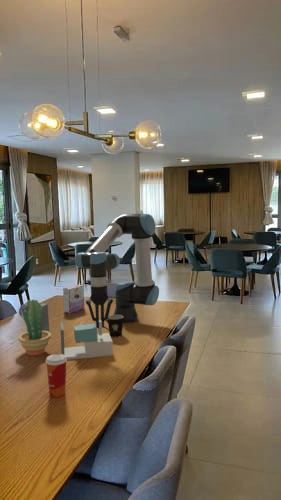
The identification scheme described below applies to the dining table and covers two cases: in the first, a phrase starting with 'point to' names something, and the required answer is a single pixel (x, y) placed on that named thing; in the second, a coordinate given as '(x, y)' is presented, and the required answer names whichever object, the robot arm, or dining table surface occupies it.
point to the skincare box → (45, 318)
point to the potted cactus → (33, 329)
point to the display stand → (88, 347)
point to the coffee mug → (115, 325)
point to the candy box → (73, 298)
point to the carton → (85, 333)
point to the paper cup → (56, 374)
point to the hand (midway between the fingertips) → (100, 334)
